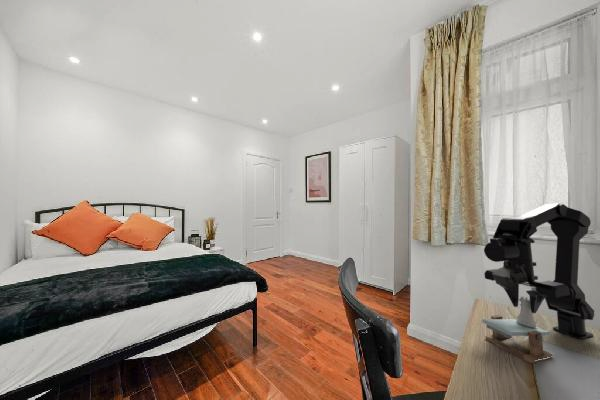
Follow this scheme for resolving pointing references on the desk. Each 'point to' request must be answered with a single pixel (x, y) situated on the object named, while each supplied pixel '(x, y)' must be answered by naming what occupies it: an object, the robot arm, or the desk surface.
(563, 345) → the desk surface
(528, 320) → the rook chess piece
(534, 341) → the flap frame
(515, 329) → the pivoting flap
